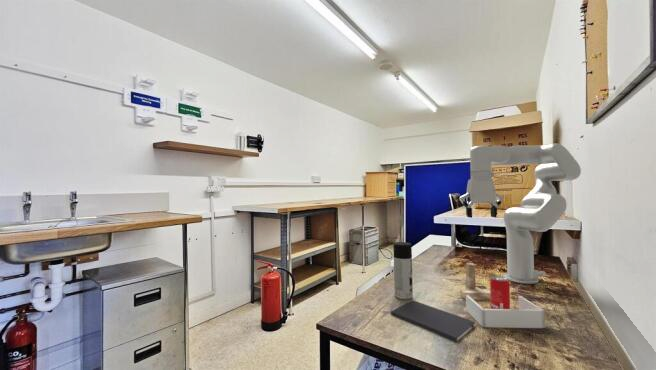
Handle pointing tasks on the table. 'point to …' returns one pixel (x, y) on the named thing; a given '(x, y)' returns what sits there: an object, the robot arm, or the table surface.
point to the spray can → (403, 270)
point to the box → (508, 315)
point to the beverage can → (499, 292)
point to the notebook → (434, 320)
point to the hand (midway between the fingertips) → (481, 217)
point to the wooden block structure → (473, 285)
